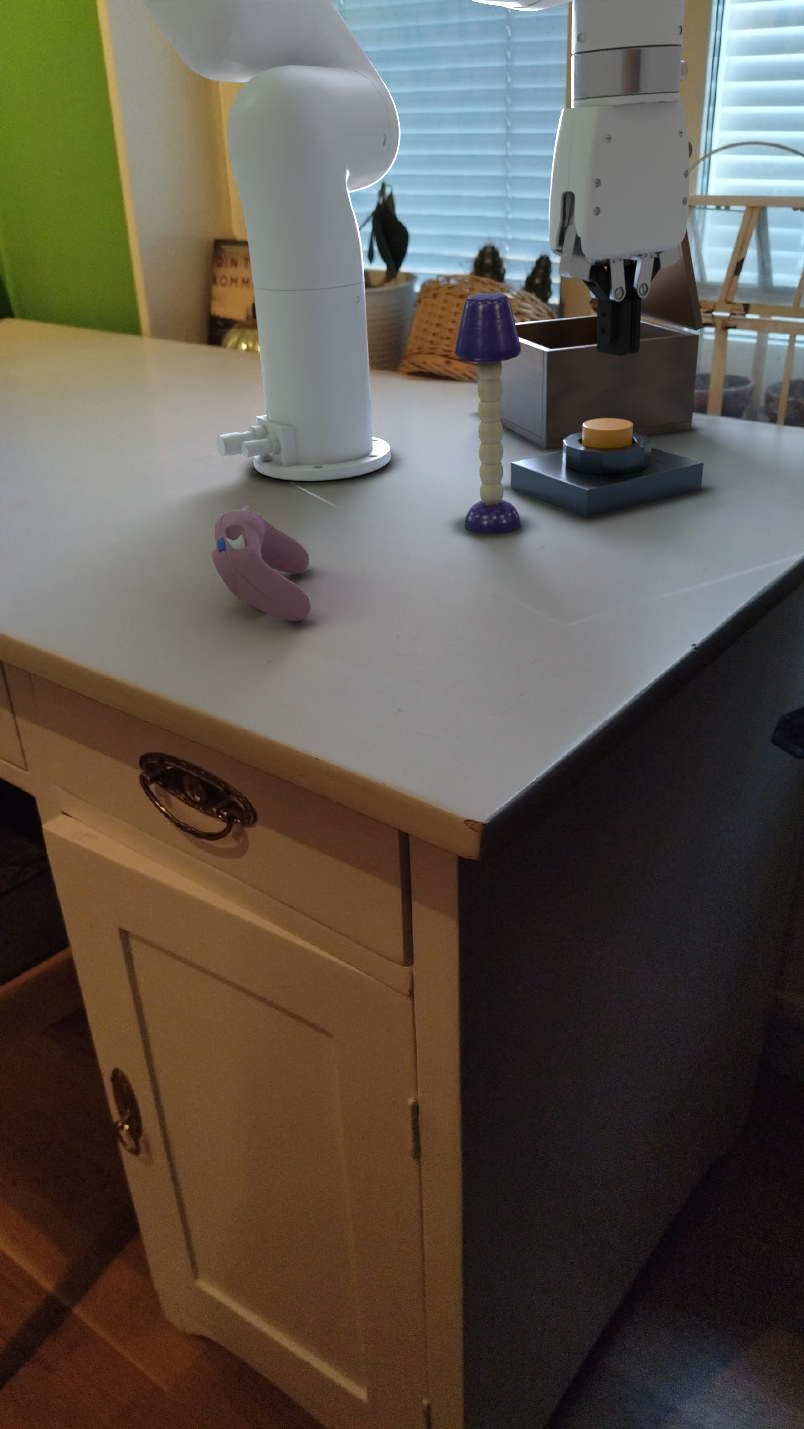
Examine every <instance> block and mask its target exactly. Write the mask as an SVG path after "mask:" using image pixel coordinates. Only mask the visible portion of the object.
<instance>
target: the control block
mask: <svg viewBox="0 0 804 1429" xmlns="http://www.w3.org/2000/svg"><path fill="white" fill-rule="evenodd" d="M652 443H653V441H652V440H651V439H650V438H649V436H648V435H642V434H639V433H635V432H633V434H632V445H629V446H625V447H620V448H597V447H588V446H585V445H582V432H580V433H575V434H571V435H570V436H568V437H567V438H565V439H564V440H563V446H562V451H558V452H553V453H548V454H544V455H538V456H534V457H530V458H525V459H521V460H516V461H512V462H510V488H511V489H512V490H515V491H518V492H521V493H524V494H526V495H527V496H531V497H533V498H536V499H538V500H541V501H543V502H546V503H549V504H551V505H554V506H556V507H559V508H561V509H564V510H567V511H569V512H571V513H574V514H575V515H579V516H582V517H584V518H591V517H595V516H599V515H602V514H603V515H604V514H606V513H610V512H615V511H618V510H622V509H623V510H624V509H626V508H630V507H636V506H638V505H642V504H646V503H651V502H655V501H658V500H662V499H667V498H670V497H674V496H678V495H682V494H686V493H690V492H694V491H698V490H701V489H702V486H703V476H704V464H705V463H704V462H702V461H699V460H695V459H692V458H689V457H685V456H682V455H680V454H679V455H678V454H675V453H672V452H668V451H665V450H662V449H658V448H655V447H653V446H652V445H653V444H652Z"/></svg>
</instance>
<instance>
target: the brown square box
mask: <svg viewBox="0 0 804 1429" xmlns="http://www.w3.org/2000/svg"><path fill="white" fill-rule="evenodd" d="M515 324H516V328H517V332H518V336H519V340H520V345H521V352H520V354H519V355H518V356H517V357H515V358H512V359H509V360H505V361H501V362H502V372H501V375H500V377H499V378H500V380H501V383H502V395H501V397H500V401H501V403H502V407H503V412H502V417H501V419H500V421H501V423H502V426H503V427H504V428H507V429H509V430H510V431H512V432H514V433H516V434H518V435H520V436H522V437H523V438H524V439H527V440H529V441H531V442H533V443H535V444H536V445H538V446H540V447H542V448H543V449H553V448H559V447H563V440H564V439H565V438H567V437H568V436H570V435H571V434H575V433H580V432H582V430H583V423H584V422H586V421H589V420H593V419H600V418H616V419H624V420H627V421H630V422H632V423H633V432H635V433H639V434H642V435H646V436H649V435H656V434H663V433H671V432H676V431H677V432H678V431H685V430H686V431H687V430H691V429H692V427H693V416H694V415H693V414H694V402H695V392H696V391H695V390H696V379H697V366H698V356H699V341H700V334H698V333H694V332H692V331H687V330H683V329H680V328H676V327H672V326H669V325H665V324H662V323H657V322H654V321H650V320H647V319H643V318H641V325H640V349H639V352H638V353H635V354H627V355H624V356H617V355H612V354H606V353H601V352H599V351H598V350H597V314H592V315H584V316H583V315H582V316H573V317H572V316H571V317H564V318H563V317H561V318H554V319H543V320H533V321H524V322H515Z"/></svg>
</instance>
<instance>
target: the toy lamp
mask: <svg viewBox="0 0 804 1429" xmlns="http://www.w3.org/2000/svg"><path fill="white" fill-rule="evenodd" d="M515 323H516V320H515V317H514V313H513V309H512V305H511V302H510V299H509V297H508V295H506V294H504V293H502V292H480V293H475V294H470V295H469V296H468V297H466V299H465V301H464V305H463V309H462V313H461V318H460V323H459V327H458V328H459V329H458V332H457V338H456V343H455V349H454V353H455V358H457V359H458V360H460V361H463V362H469V363H476V373H477V376H478V377H479V380H478V383H477V396H478V398H479V400H480V401H479V402H478V407H477V414H478V418H479V420H480V423H479V426H478V437H479V441H480V444H479V448H478V457H479V461H480V466H479V472H478V473H479V478H480V481H481V484H480V488H479V497H480V499H481V500H479V501H477V502H476V503H474V504H473V505H471V507H470V508H469V509H468V511H467V513H466V515H465V520H464V526H465V528H466V529H467V530H469V531H472V532H474V533H477V534H487V535H495V534H496V535H497V534H505V533H509V532H513V531H515V530H517V529H518V528H520V526H521V518H520V515H519V511H518V510H517V508H516V507H515V506H514V505H513V504H512V503H510V502H509V501H507V500H504V499H503V497H504V486H503V483H502V481H503V477H504V467H503V464H502V460H503V456H504V447H503V444H502V440H503V436H504V426H503V425H502V423H501V421H500V419H501V417H502V412H503V407H502V403H501V401H500V397H501V395H502V383H501V380H500V378H499V377H500V375H501V372H502V362H501V361H505V360H509V359H512V358H515V357H517V356H518V355H519V354H520V352H521V345H520V340H519V336H518V332H517V328H516V324H515Z"/></svg>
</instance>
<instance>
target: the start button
mask: <svg viewBox="0 0 804 1429" xmlns="http://www.w3.org/2000/svg"><path fill="white" fill-rule="evenodd" d="M632 434H633V423H632V422H630V421H627V420H624V419H616V418H600V419H593V420H589V421H586V422H584V423H583V430H582V445H585V446H588V447H597V448H620V447H625V446H629V445H632Z"/></svg>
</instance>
